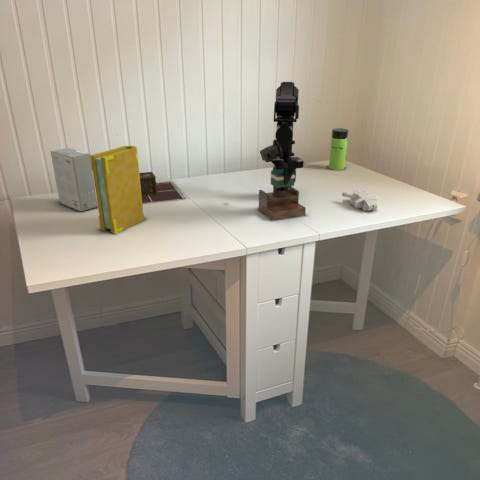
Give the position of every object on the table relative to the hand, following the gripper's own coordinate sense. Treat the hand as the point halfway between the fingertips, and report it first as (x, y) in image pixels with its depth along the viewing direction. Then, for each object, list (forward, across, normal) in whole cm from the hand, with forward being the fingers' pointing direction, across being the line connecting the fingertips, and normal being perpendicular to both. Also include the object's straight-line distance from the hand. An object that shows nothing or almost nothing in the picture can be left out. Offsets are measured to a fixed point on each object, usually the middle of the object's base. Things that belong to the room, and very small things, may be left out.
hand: (282, 182), depth 186 cm
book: (+11, -11, -56) cm, 58 cm away
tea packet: (+1, 0, 0) cm, 1 cm away
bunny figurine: (+12, +6, +31) cm, 33 cm away
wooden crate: (+12, -42, -40) cm, 59 cm away
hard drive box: (+11, -38, -68) cm, 78 cm away
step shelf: (+11, +1, 0) cm, 11 cm away
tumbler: (+12, -44, +52) cm, 69 cm away
